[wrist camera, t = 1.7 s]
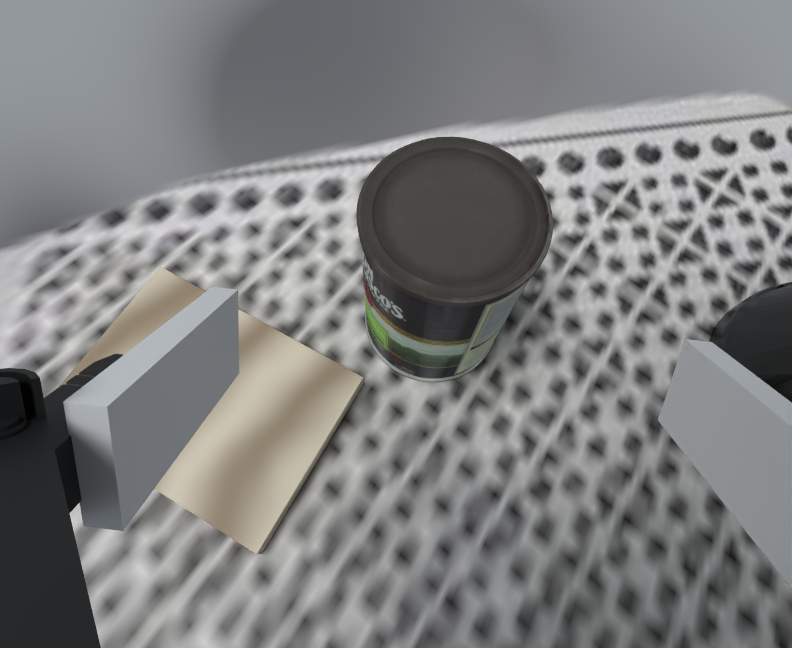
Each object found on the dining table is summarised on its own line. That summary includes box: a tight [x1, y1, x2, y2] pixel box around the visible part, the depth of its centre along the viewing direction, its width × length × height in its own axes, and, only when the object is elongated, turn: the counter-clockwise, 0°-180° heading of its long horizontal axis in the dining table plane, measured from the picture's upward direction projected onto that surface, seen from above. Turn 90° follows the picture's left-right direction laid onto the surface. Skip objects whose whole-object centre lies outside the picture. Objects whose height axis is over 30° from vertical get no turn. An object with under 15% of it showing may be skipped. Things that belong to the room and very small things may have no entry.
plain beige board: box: [58, 267, 364, 554], centre depth 36 cm, size 18×13×2 cm
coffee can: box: [357, 137, 553, 382], centre depth 33 cm, size 10×10×14 cm
